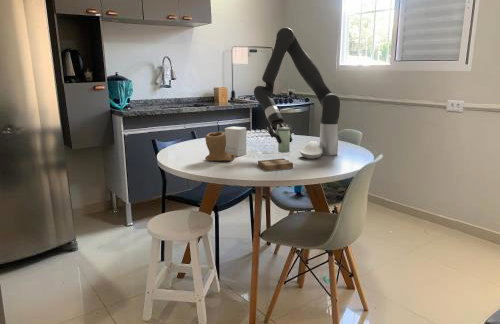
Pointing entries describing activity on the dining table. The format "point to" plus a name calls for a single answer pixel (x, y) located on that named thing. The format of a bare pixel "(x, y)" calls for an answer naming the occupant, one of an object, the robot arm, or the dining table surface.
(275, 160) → the dock
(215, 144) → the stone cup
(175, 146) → the dining table surface
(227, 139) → the supplement box
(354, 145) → the dining table surface
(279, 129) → the tea tin
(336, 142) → the robot arm
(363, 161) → the dining table surface
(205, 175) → the dining table surface
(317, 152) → the spoon rest
